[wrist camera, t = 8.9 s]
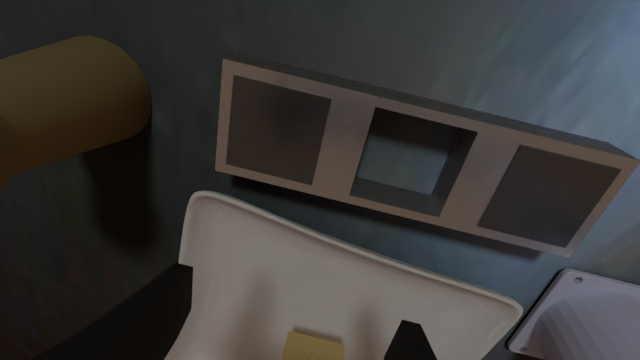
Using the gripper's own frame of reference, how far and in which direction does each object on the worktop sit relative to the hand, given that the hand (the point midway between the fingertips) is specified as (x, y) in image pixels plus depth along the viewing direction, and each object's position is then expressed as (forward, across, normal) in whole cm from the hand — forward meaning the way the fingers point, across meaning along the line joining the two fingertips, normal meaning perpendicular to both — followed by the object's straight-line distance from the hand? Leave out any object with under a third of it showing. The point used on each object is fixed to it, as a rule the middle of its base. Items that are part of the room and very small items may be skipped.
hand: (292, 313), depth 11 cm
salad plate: (+11, -2, +13) cm, 17 cm away
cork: (+11, +14, -2) cm, 18 cm away
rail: (+10, -4, -3) cm, 12 cm away
